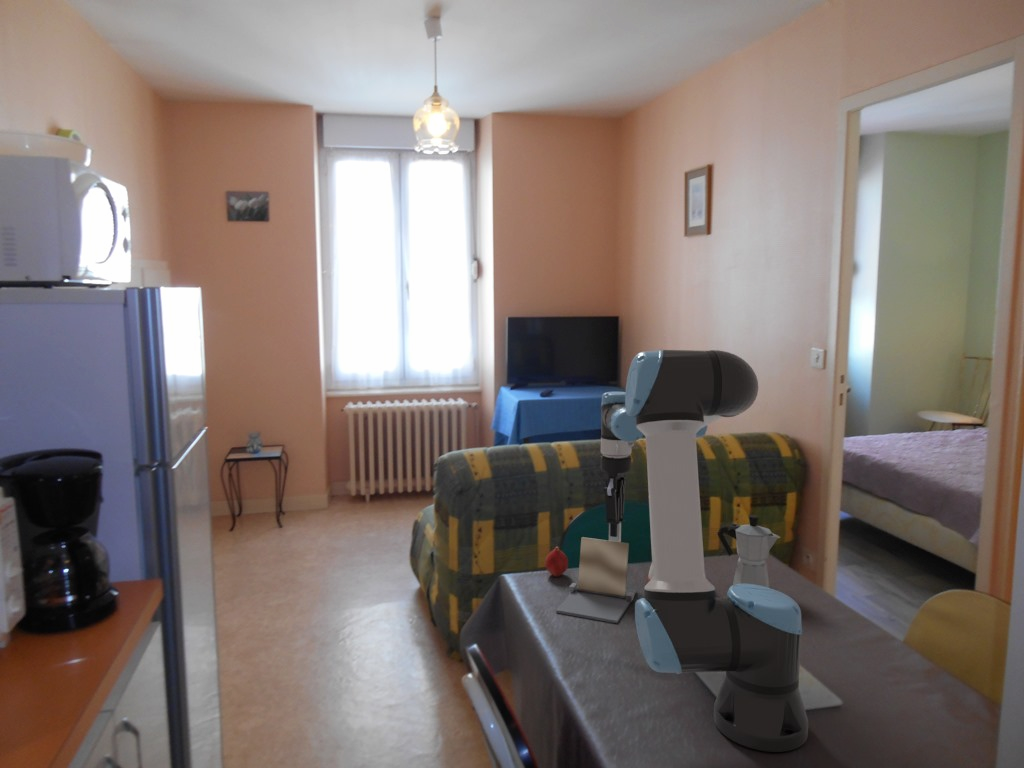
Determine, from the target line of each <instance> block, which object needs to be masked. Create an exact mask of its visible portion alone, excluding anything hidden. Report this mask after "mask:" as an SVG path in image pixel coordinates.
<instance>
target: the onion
mask: <svg viewBox="0 0 1024 768" xmlns="http://www.w3.org/2000/svg"><path fill="white" fill-rule="evenodd" d="M544 562H545V569H546V570H547V572H549V573H550V575H552V576H553V577H556V578H559V577H560V576H562V575H564V573H565V572H566V571H567V570H568V567H569V559H568V556H567V555H566V554H565V553H564V551H562V550H561V549H560V547H559V546H556V547H554V549H553V550H551V551H549V553H548V554H547V556H546V557H545V561H544Z"/></svg>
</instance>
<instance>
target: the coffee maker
mask: <svg viewBox="0 0 1024 768" xmlns="http://www.w3.org/2000/svg"><path fill="white" fill-rule="evenodd" d="M748 520H749V521H748V522H749V524H741V525H739V524H738V523H732V524H730V525H722V526H720V528H719V529H718V531H717V533H716V534H717V536H718V538H719V540H720V542H721V544H722V547H723V548H724V549H725V551H726V553H727V555H728V557H731V556H732V555H733V554H734V552H733V550H732V549H731V546H730V544H729V543H728V541H727V539H726V538H725V536H724V534H726V535H728V536H729V537H731V538H733V539H734V540H735V543H736V544H735V545H736V553H737V555H738V559H737V561H736V567H735V572H734V575H733V576H734V577H733V583H732V586H733V585H736V584H754V585H760V586H764V587H768V588H770V582H769V581H770V579H769V574H768V573H769V572H768V564H767V561H766V560H767V559H768V557H769V555H770V550H771V549H772V547H773V546H774V544H775V543H776V541H777V540H778V539H780V538H781V536H779V535H777V534H776V533H773V532H772V531H771V530H770V528H767V527H763V526H760V525H758V522H759V516H758V515H755V514H750V515H748Z"/></svg>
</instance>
